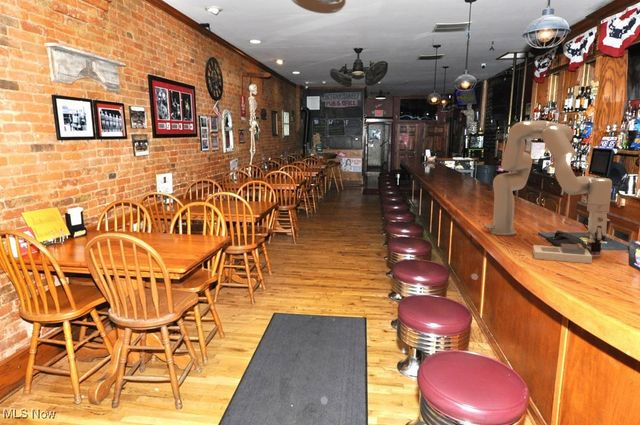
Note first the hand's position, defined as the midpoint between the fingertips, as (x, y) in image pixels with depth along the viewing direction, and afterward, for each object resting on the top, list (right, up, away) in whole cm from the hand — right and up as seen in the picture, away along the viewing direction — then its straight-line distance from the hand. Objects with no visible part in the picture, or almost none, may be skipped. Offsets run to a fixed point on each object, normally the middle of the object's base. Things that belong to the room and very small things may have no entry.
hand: (594, 249), depth 167 cm
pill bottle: (0, -3, +1) cm, 3 cm away
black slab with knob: (-1, 0, +16) cm, 16 cm away
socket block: (-15, -3, -1) cm, 15 cm away
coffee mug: (+17, +3, +24) cm, 30 cm away
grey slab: (-11, -1, -3) cm, 12 cm away
